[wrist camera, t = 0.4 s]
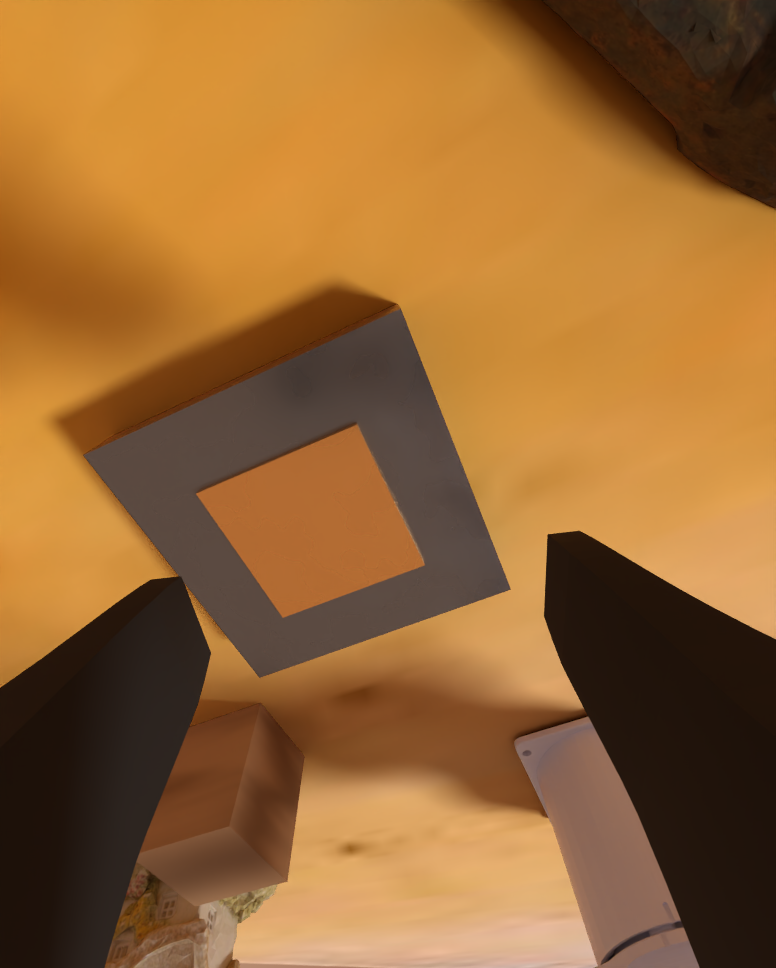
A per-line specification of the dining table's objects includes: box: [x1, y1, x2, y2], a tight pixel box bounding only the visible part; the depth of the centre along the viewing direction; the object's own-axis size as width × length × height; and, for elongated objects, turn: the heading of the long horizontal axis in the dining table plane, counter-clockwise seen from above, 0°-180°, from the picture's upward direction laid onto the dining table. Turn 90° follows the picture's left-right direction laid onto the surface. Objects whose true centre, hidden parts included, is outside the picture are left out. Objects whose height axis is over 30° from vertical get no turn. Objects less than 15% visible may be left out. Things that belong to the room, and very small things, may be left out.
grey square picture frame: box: [83, 304, 511, 678], centre depth 18 cm, size 12×12×2 cm
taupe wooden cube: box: [137, 703, 304, 906], centre depth 23 cm, size 5×5×6 cm
